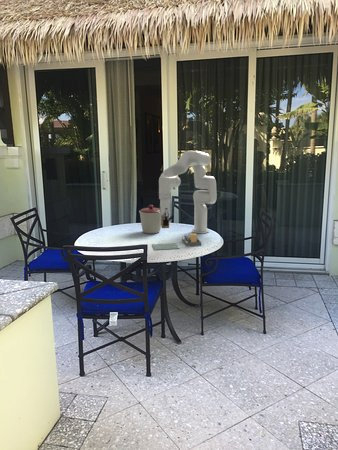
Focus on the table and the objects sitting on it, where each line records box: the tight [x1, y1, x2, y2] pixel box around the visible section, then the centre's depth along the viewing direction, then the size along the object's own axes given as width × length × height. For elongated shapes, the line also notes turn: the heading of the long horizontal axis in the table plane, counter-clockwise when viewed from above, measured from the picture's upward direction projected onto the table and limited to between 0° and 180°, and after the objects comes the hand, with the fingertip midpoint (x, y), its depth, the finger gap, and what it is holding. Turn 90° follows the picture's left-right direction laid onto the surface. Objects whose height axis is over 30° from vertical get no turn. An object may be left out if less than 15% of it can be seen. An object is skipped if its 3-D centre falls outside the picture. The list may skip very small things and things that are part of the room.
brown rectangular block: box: [161, 214, 170, 229], centre depth 230 cm, size 5×5×9 cm
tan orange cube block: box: [189, 232, 198, 242], centre depth 238 cm, size 4×4×5 cm
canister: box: [138, 204, 162, 235], centre depth 271 cm, size 18×18×21 cm
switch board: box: [181, 235, 202, 247], centre depth 243 cm, size 14×10×4 cm
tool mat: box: [151, 242, 180, 251], centre depth 233 cm, size 12×16×1 cm
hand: (165, 224), depth 230 cm, fingers closed on brown rectangular block, 4 cm apart
